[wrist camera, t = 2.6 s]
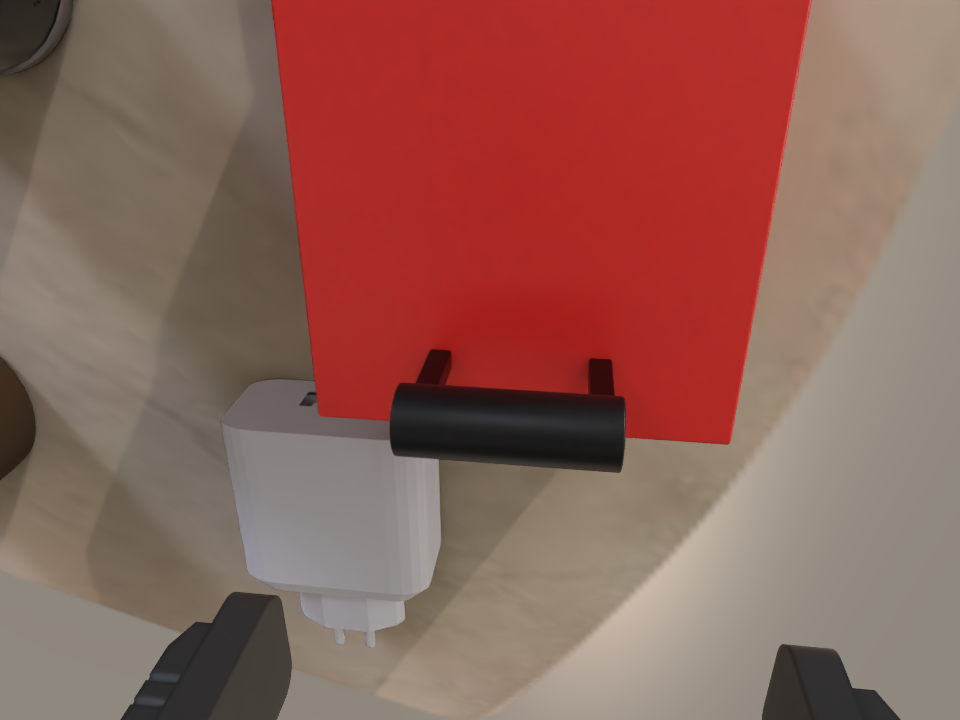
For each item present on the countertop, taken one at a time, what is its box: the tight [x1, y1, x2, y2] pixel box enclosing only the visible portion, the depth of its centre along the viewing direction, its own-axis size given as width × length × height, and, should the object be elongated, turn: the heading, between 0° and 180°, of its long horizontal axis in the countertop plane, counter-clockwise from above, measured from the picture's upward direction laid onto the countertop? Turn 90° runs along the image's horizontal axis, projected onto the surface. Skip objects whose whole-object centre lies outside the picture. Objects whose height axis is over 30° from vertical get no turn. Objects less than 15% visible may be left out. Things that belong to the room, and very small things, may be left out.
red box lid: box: [271, 0, 812, 473], centre depth 18 cm, size 16×14×6 cm
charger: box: [220, 379, 441, 648], centre depth 36 cm, size 5×9×15 cm
